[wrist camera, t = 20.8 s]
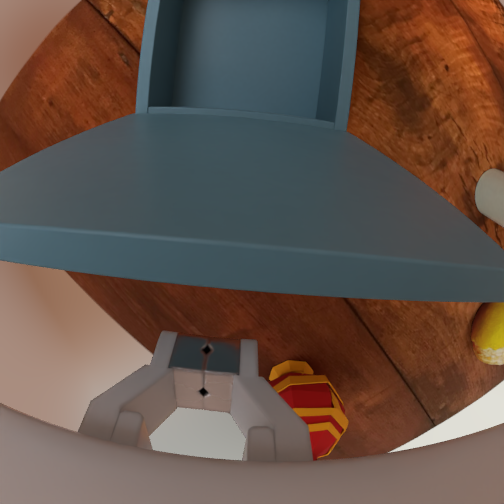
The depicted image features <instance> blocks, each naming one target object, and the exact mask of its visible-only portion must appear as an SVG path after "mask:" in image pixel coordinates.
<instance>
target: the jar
mask: <svg viewBox="0 0 504 504" xmlns="http://www.w3.org/2000/svg"><path fill="white" fill-rule="evenodd" d="M475 202H476V206H477V208H478V210H479V211H480V213H481V214H483V215H484V216H486V217H488V218H489V219H491V220H492V221H494V222H495V223H497V224H498V225H500V226H501V227H503V228H504V172H503V171H501V170H498V169H489V170H487V171H486V172H485V173H483V175H482V176H481V177H480V179H479V181H478V183H477V186H476V190H475Z"/></svg>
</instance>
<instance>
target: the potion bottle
mask: <svg viewBox="0 0 504 504" xmlns="http://www.w3.org/2000/svg"><path fill="white" fill-rule="evenodd" d="M313 372H314V371H313V370H312V369H311V367H310V366H309V365H308V364H307V363H306V362H303V361H293V360H287V361H285V362H283V363H281V364H279V365H277V366H274V367H273V368H272V371H271V374H270V376H269V380H270V382H268V383H269V384H270V385H271V386H272V387H273V389H274V390H275V391H276V392H277V393H278V394H279V395H280V396H281V397H282V398H283V400H284V401H285V402H286V403H287V404H288V405H289V406H290V407H291V408H292V409H293V410H294V411H295V413H296V414H297V415H298V416H299V417H300V418H301V419H302V420H303V421H304V422H305V423H306V424H307V425H308V428H309V434H310V441H311V448H312V455H313V461H316V460H317V458H319V457H323V456H326V455H329V453H330V452H331V450H332V449H333V448H334V446H335V445H336V443H337V442H338V441H339V439H340V437H341V436H342V434H343V433H344V432H345V431H346V428H347V425H348V422H349V421H348V420H347V418H346V416H345V409H344V407H343V404H344V403H343V402H342V400H341V398H340V397H339V395H338V393H337V392H336V390H335V389H334V387H333V386H332V385H331V383H330V382H329V380H328V379H327V377H326V376H325V375H312V374H313ZM326 382H329V384H330V386H331V387H332V389H333V390H334V392H335V393H336V394H335V393H334V392H333V390H332V389H331V388H330V387H329V385H328V384H327V383H326Z"/></svg>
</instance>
